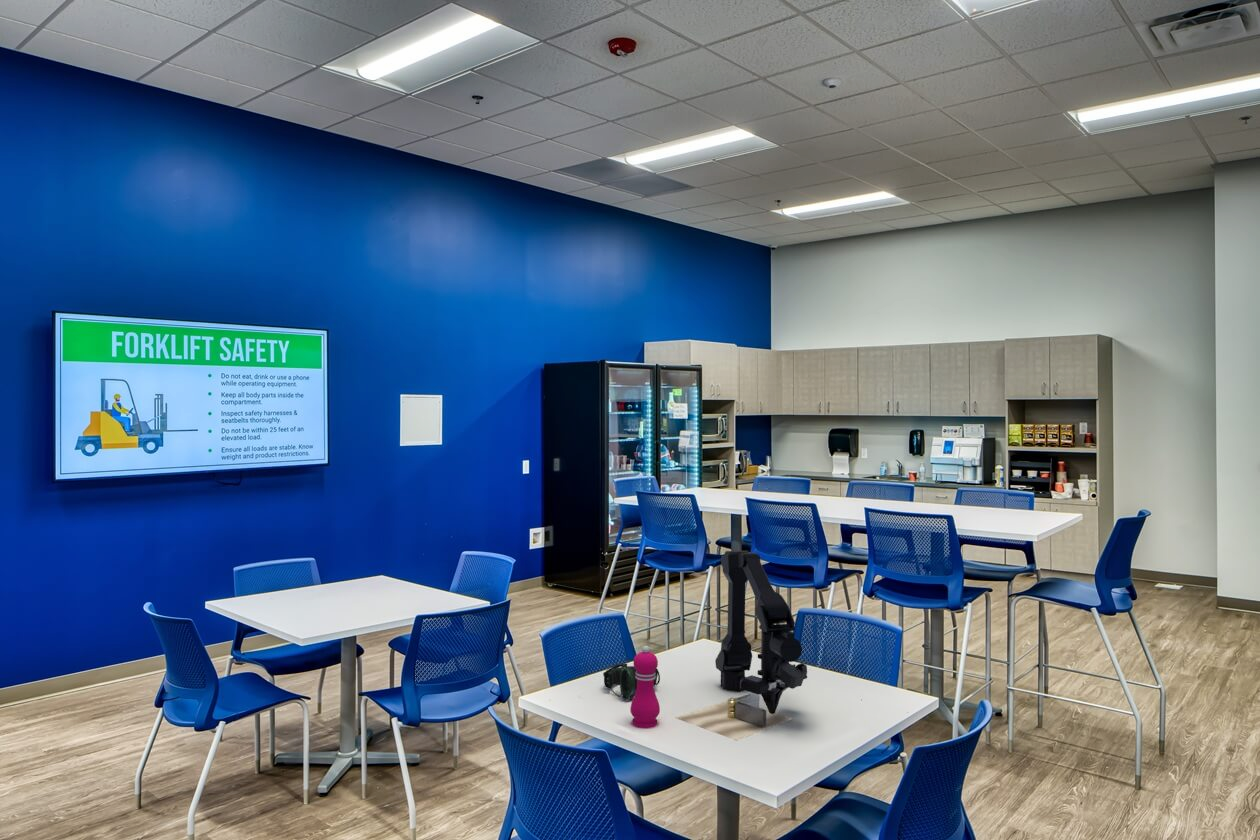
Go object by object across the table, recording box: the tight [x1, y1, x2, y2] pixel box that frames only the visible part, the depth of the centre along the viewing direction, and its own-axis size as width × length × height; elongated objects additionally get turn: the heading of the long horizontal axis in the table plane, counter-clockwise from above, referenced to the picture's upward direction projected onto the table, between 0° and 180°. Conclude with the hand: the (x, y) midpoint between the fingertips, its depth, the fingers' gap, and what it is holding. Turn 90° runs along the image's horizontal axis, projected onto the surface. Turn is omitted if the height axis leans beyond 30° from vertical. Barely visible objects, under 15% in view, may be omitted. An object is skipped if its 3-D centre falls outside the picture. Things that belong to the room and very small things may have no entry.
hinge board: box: [674, 699, 794, 741], centre depth 206 cm, size 20×22×1 cm
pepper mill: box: [629, 645, 661, 729], centre depth 201 cm, size 7×7×20 cm
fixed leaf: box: [727, 692, 761, 718], centre depth 210 cm, size 11×2×4 cm, turn 133°
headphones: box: [603, 662, 661, 701], centre depth 228 cm, size 13×13×20 cm
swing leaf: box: [728, 702, 767, 727], centre depth 203 cm, size 11×2×4 cm, turn 43°
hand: (772, 713), depth 205 cm, fingers closed
